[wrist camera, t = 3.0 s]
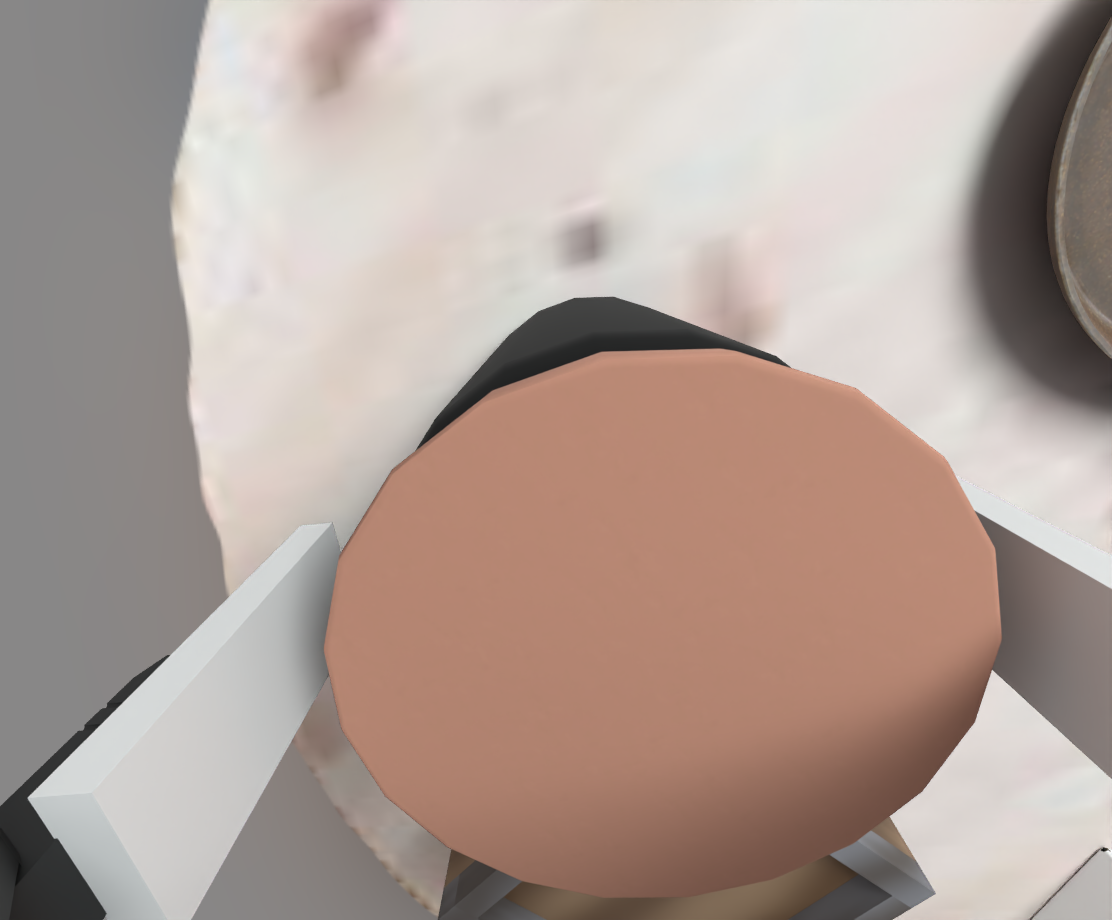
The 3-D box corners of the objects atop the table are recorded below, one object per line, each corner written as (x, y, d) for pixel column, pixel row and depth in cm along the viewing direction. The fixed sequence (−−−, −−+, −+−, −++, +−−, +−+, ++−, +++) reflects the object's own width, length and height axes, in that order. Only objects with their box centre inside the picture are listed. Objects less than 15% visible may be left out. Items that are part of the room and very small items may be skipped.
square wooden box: (855, 760, 33) (935, 893, 26) (662, 898, 38) (685, 1042, 31) (647, 610, 29) (674, 718, 22) (463, 785, 34) (437, 920, 27)
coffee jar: (677, 519, 27) (869, 927, 10) (476, 494, 27) (326, 876, 10) (725, 311, 23) (1153, 407, 6) (494, 279, 23) (305, 293, 6)
